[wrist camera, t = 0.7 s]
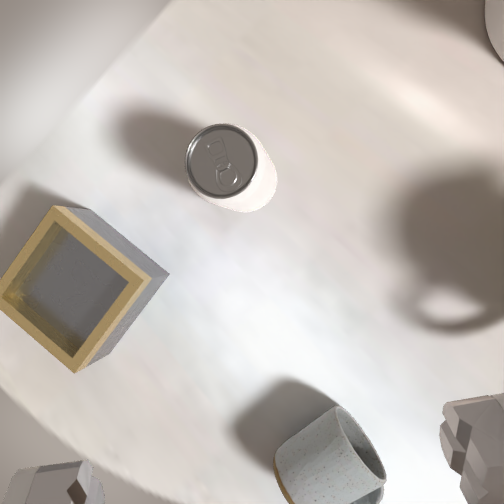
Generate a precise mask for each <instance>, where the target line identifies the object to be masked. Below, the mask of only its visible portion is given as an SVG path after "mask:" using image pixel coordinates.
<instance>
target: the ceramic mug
mask: <svg viewBox="0 0 504 504" xmlns="http://www.w3.org/2000/svg"><path fill="white" fill-rule="evenodd" d="M273 468H274V473H275V477H276V480H277V483H278V485H279V487H280V490H281V492H282V494H283V495H284V497H285V499H286V500H287V502H288V503H289V504H379V503H380V501H381V500H382V498H383V494H384V486H383V485H384V484H385V482H386V481H387V480H386V473H385V470H384V467H383V465H382V462H381V460H380V458H379V456H378V454H377V452H376V450H375V448H374V447H373V445H372V443H371V441H370V440H369V438H368V437H367V436H366V434H365V433H364V431H363V430H362V428H361V427H360V425H359V424H358V423H357V422H356V420H355V419H354V418H353V417H352V416H351V415H350V414H349V413H348V412H347V411H346V410H345V409H344V408H342V407H341V406H334V407H332V408H331V409H329V410H328V411H327V412H325V413H324V414H323V415H321V416H320V417H319V418H317V419H316V420H314V421H313V422H311V423H310V424H309V425H307V426H306V427H305V428H304V429H302V430H301V431H300V432H298V433H297V434H295V435H294V436H292V437H291V438H289V439H288V440H287V441H285V442H284V443H283V444H282V445H281V446H280V447H279V448H278V450H277V451H276V453H275V455H274V460H273Z"/></svg>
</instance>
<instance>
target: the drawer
mask: <svg viewBox="0 0 504 504" xmlns="http://www.w3.org/2000/svg"><path fill="white" fill-rule="evenodd" d="M168 275H169V273H168V272H166V271H165V270H164V269H163V268H161V267H160V266H159V265H158V264H157V263H155V262H154V261H153V260H152V259H150V258H149V257H148V256H147V255H146V254H144V253H143V252H142V251H141V250H139V249H138V248H137V247H136V246H135V245H133V244H132V243H131V242H130V241H128V240H127V239H126V238H125V237H124V236H122V235H121V234H120V233H119V232H117V231H116V230H115V229H114V228H113V227H111V226H110V225H109V224H108V223H106V222H105V221H104V220H103V219H101V218H100V217H99V216H98V215H97V214H95V213H94V212H93V211H92V210H90V209H81V208H72V207H64V206H55V205H52V207H51V208H50V210H49V211H48V212H47V214H46V215H45V217H44V218H43V220H42V221H41V222H40V224H39V225H38V227H37V228H36V230H35V231H34V232H33V234H32V235H31V237H30V238H29V240H28V241H27V242H26V244H25V245H24V247H23V248H22V250H21V251H20V252H19V254H18V255H17V257H16V258H15V260H14V261H13V262H12V264H11V265H10V267H9V268H8V270H7V271H6V272H5V274H4V275H3V277H2V278H1V280H0V310H1V311H3V312H4V313H5V314H6V315H7V316H8V317H9V318H11V319H12V320H13V321H14V322H15V323H16V324H18V325H19V326H20V327H21V328H22V329H23V330H25V331H26V332H27V333H28V334H29V335H30V336H31V337H33V338H34V339H35V340H36V341H37V342H38V343H40V344H41V345H42V346H43V347H44V348H45V349H46V350H48V351H49V352H50V353H51V354H52V355H53V356H55V357H56V358H57V359H58V360H59V361H60V362H62V363H63V364H64V365H65V366H66V367H67V368H68V369H70V370H71V371H72V372H73V373H74V374H75V373H76V372H78V371H80V370H82V369H83V368H85V367H87V366H89V365H91V364H92V363H94V362H96V361H98V360H99V359H101V358H103V357H105V356H106V355H108V354H109V353H110V352H111V351H112V349H113V348H114V347H115V345H116V344H117V343H118V341H119V340H120V339H121V338H122V336H123V335H124V334H125V332H126V331H127V330H128V328H129V327H130V326H131V324H132V323H133V322H134V320H135V319H136V318H137V316H138V315H139V314H140V312H141V311H142V310H143V308H144V307H145V306H146V304H147V303H148V302H149V300H150V299H151V298H152V296H153V295H154V294H155V292H156V291H157V290H158V288H159V287H160V286H161V285H162V283H163V282H164V281H165V279H166V278H167V277H168Z"/></svg>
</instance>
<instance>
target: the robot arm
mask: <svg viewBox="0 0 504 504" xmlns="http://www.w3.org/2000/svg"><path fill="white" fill-rule="evenodd" d="M485 23H486V28H487V32H488V36H489V39H490V41H491V43H492V45H493V47H494V49H495V51H496V52H497V54H498V55H499V57H500V58H501V59H502V60H503V61H504V0H486V1H485ZM442 413H443V415H444V417H445V419H446V420H445V421H444V422H443V423H442V424H441V425H440V434H439V436H440V442H441V447H442V450H443V453H444V456H445V458H446V460H447V462H448V464H449V466H450V468H451V469H453V470H454V471H455V472H457V473H458V474H460V475H461V476H462V477H461V482H460V489H461V491H462V493H463V495H464V497H465V499H466V501H467V503H468V504H504V393H501V394H496V395H490V396H488V395H486V396H480V397H474V398H468V399H463V400H457V401H451V402H446V403H445V405H444V406H443V412H442ZM92 471H93V467H92V465H91V463H90V462H89V460H81V461H74V462H67V463H60V464H53V465H46V466H37V467H31V468H25V469H19V470H18V471H17V472H16V473H15V475H14V476H13V477H12V479H11V482H10V484H9V487H8V490H7V492H6V495H5V498H4V500H3V503H2V504H105V495H104V490H103V486H102V484H101V482H100V480H99V479H98V478H96V477H94V476H92Z"/></svg>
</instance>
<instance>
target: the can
mask: <svg viewBox="0 0 504 504" xmlns="http://www.w3.org/2000/svg"><path fill="white" fill-rule="evenodd" d="M185 169H186V173H187V177H188V180H189V182H190V184H191V186H192V188H193V189H194V191H195V192H196V193H197V194H198V195H199V196H200V197H201V198H203V199H204V200H206V201H208V202H210V203H212V204H215V205H218V206H221V207H224V208H227V209H230V210H234V211H238V212H252V211H255V210H258V209H260V208H261V207H263V206H264V205H265V204H267V203H268V202H269V201H270V199H271V198H272V196H273V195H274V193H275V190H276V186H277V173H276V169H275V166H274V164H273V162H272V161H271V159H270V157H269V155H268V154H267V152H266V151H265V149H264V147H263V146H262V144H261V143H260V141H259V140H258V139H257V138H256V136H255V135H254V134H252V133H251V132H250V131H248V130H247V129H245V128H243V127H241V126H239V125H235V124H215V125H211V126H208V127H206V128H204V129H203V130H201V131H200V132H199V133H197V134H196V135H195V137H194V138H193V139H192V140H191V142H190V144H189V146H188V148H187V151H186V155H185Z"/></svg>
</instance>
